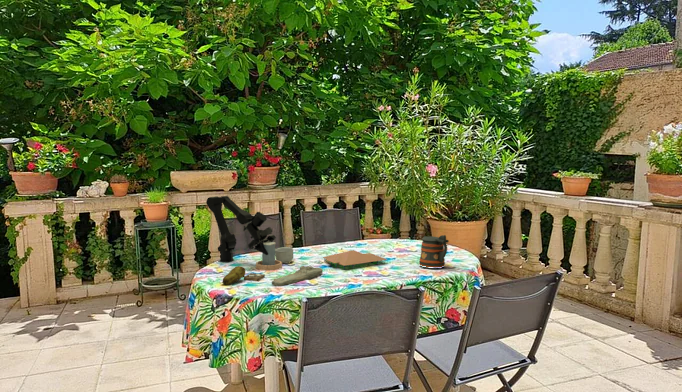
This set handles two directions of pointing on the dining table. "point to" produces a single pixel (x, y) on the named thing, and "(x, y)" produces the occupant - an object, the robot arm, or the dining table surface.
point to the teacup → (284, 254)
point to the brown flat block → (352, 259)
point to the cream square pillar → (269, 254)
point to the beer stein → (433, 251)
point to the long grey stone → (298, 276)
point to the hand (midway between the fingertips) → (270, 253)
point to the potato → (234, 275)
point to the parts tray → (254, 278)
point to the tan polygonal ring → (269, 266)
